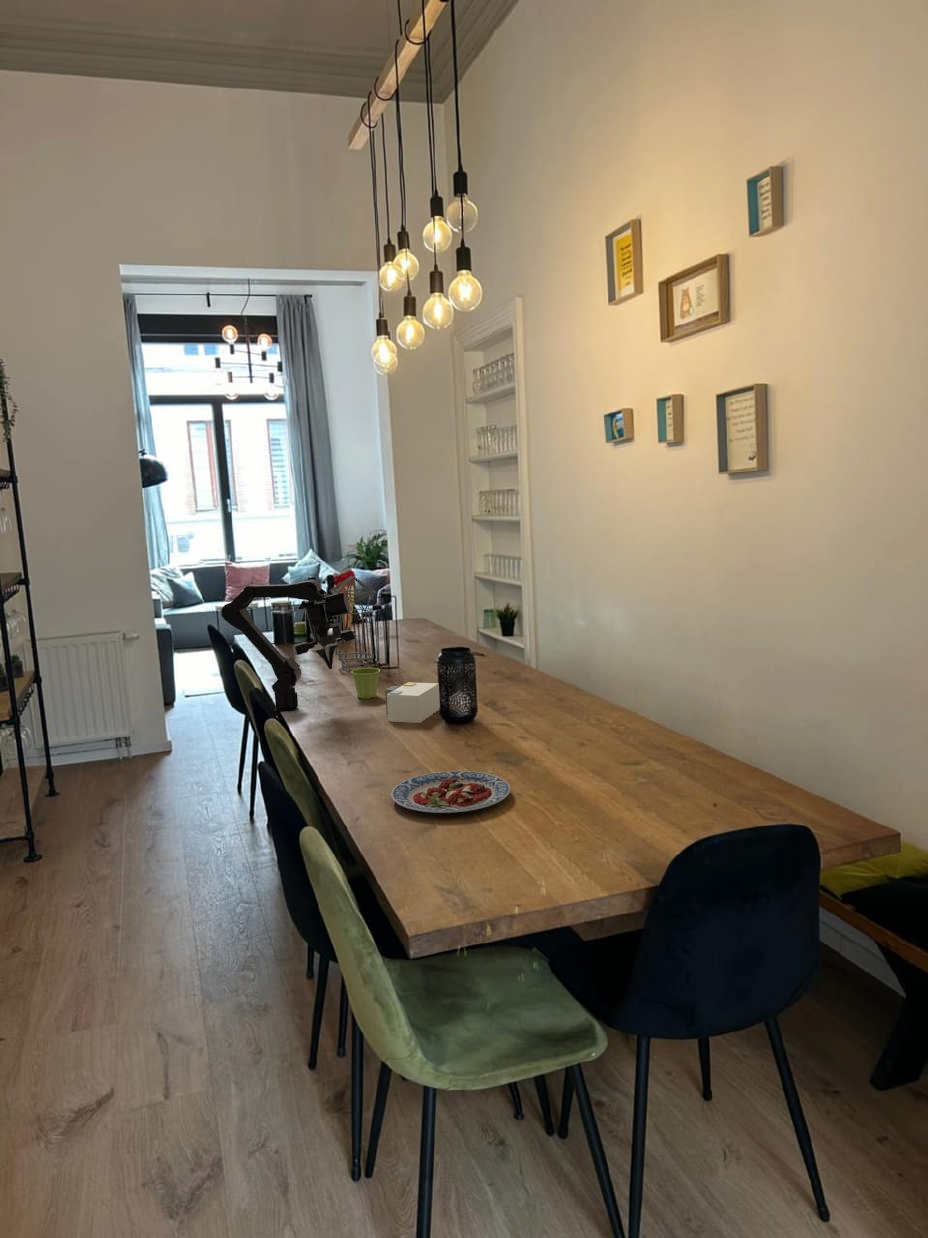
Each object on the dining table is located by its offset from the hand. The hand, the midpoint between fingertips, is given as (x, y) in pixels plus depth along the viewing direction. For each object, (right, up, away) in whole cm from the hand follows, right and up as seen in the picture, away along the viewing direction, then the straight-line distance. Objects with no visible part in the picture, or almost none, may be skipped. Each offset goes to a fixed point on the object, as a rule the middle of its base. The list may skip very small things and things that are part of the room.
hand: (330, 668), depth 276 cm
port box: (+27, -13, -11) cm, 32 cm away
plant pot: (+10, -10, +14) cm, 20 cm away
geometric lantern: (+1, -3, +62) cm, 62 cm away
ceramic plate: (+39, -24, -83) cm, 95 cm away
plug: (+24, -13, -10) cm, 29 cm away
